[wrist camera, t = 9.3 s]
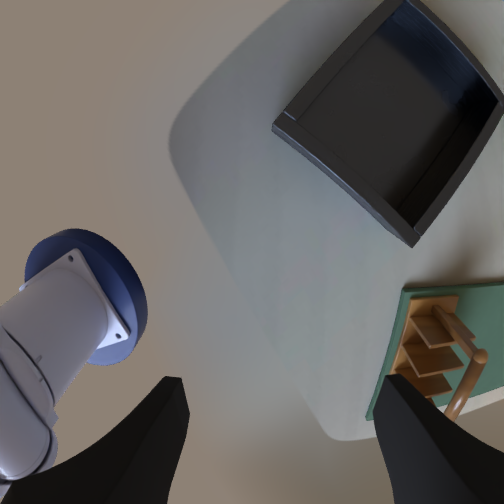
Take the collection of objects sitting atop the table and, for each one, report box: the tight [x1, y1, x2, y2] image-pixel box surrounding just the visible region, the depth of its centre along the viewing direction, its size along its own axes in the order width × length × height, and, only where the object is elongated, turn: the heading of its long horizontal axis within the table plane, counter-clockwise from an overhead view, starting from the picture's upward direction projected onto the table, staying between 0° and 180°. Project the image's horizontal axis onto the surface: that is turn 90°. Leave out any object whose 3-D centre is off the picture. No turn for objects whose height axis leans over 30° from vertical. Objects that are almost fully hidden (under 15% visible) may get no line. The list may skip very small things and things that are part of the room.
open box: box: [271, 0, 504, 248], centre depth 13 cm, size 12×10×4 cm
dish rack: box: [389, 295, 488, 422], centre depth 16 cm, size 8×4×8 cm, turn 1°
